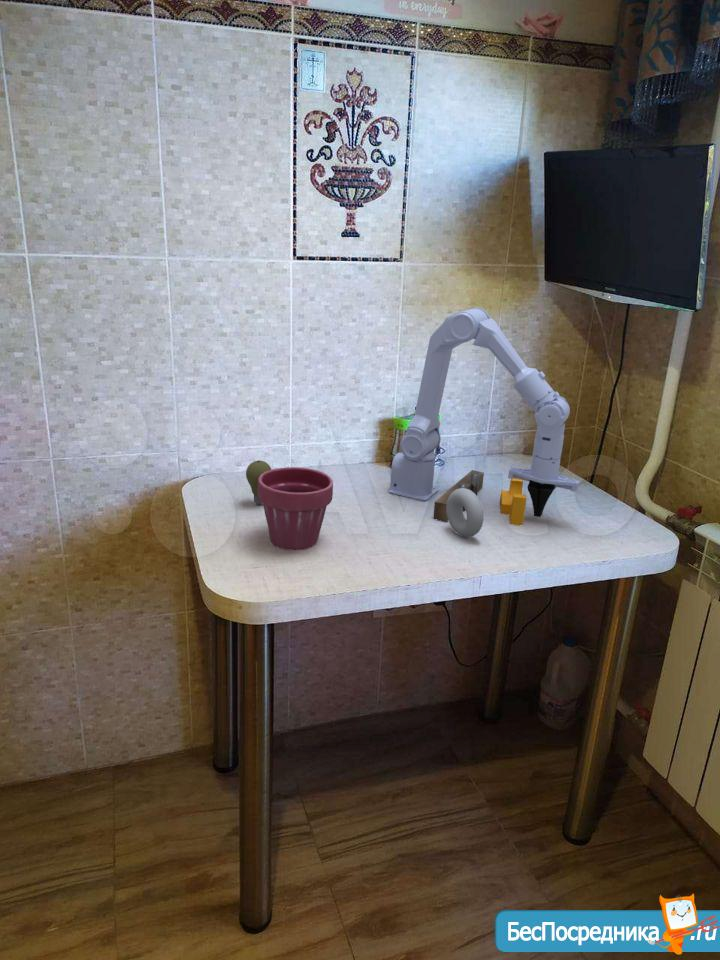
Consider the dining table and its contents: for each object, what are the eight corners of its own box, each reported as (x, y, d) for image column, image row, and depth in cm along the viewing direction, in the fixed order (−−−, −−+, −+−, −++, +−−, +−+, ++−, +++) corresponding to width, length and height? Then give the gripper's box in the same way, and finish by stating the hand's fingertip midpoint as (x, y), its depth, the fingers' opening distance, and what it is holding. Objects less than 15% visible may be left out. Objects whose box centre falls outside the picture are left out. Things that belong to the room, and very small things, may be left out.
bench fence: (433, 518, 152) (435, 492, 150) (470, 485, 172) (472, 462, 170) (452, 523, 150) (454, 497, 148) (487, 489, 170) (490, 465, 168)
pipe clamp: (499, 503, 163) (502, 476, 160) (519, 505, 162) (522, 478, 160) (501, 524, 151) (505, 496, 149) (522, 526, 151) (526, 498, 149)
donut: (440, 527, 148) (445, 482, 144) (453, 524, 150) (458, 480, 146) (471, 546, 140) (476, 499, 136) (484, 543, 142) (490, 496, 138)
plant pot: (345, 540, 140) (348, 479, 135) (295, 564, 129) (296, 498, 125) (294, 519, 148) (295, 461, 144) (242, 539, 138) (241, 477, 133)
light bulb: (244, 500, 156) (243, 457, 153) (269, 498, 158) (269, 456, 155) (248, 510, 151) (248, 466, 148) (274, 508, 153) (274, 464, 150)
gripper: (585, 456, 149) (575, 516, 154) (517, 444, 155) (510, 502, 160) (579, 466, 143) (568, 527, 148) (508, 452, 149) (501, 512, 154)
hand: (537, 515), depth 153 cm, fingers closed
